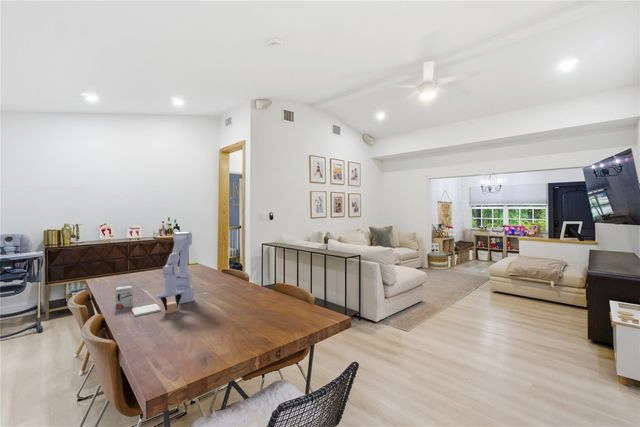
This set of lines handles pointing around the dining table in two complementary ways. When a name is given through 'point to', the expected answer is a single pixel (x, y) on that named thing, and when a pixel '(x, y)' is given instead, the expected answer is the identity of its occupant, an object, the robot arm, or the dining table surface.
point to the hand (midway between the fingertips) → (171, 308)
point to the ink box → (124, 297)
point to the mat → (146, 309)
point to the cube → (171, 307)
